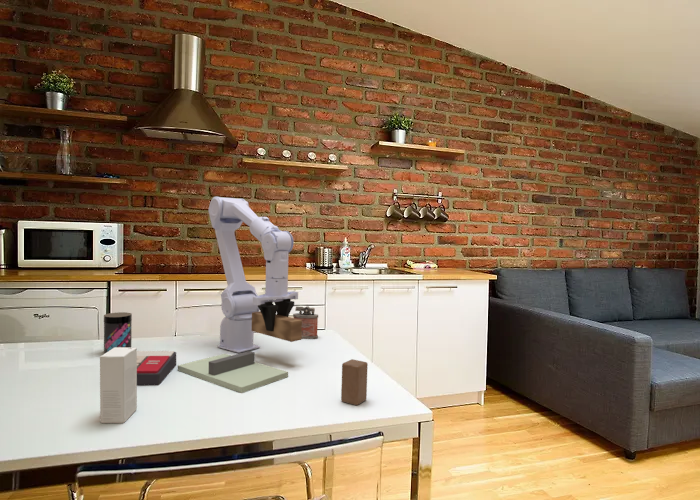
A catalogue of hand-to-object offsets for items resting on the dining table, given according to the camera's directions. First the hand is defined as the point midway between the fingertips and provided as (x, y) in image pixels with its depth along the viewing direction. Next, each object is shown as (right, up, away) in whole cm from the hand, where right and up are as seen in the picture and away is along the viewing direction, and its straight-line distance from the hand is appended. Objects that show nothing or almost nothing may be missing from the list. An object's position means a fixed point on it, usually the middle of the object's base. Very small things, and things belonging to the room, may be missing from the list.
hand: (275, 329), depth 120 cm
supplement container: (-43, -7, +3) cm, 44 cm away
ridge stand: (-9, -9, -11) cm, 16 cm away
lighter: (+5, -7, +26) cm, 28 cm away
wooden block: (+20, -10, -26) cm, 34 cm away
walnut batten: (0, -2, 0) cm, 2 cm away
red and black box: (-28, -9, -13) cm, 33 cm away
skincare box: (-23, -10, -37) cm, 44 cm away
